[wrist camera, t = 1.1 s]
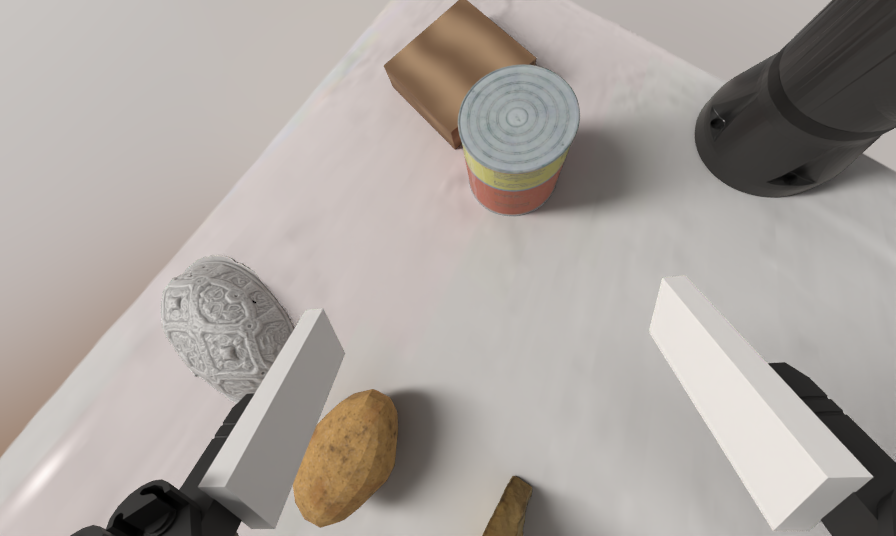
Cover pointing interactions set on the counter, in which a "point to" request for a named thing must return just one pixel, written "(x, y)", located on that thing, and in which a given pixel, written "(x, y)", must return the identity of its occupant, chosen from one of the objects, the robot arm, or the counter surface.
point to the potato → (347, 458)
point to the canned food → (517, 136)
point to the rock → (510, 510)
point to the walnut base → (452, 64)
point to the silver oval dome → (224, 325)
